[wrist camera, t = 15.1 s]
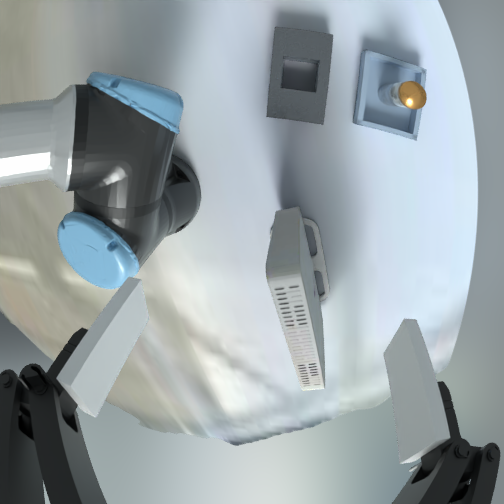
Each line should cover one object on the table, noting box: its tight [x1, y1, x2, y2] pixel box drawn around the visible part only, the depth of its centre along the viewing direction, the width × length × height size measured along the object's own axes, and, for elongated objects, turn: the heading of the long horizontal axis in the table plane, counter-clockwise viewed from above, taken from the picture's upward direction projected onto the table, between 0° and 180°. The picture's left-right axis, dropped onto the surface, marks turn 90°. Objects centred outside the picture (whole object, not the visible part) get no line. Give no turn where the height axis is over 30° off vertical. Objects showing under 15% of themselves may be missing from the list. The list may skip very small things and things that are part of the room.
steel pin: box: [378, 81, 426, 109], centre depth 29 cm, size 4×4×10 cm
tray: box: [353, 50, 426, 141], centre depth 32 cm, size 12×10×3 cm
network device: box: [266, 206, 329, 391], centre depth 43 cm, size 26×9×20 cm, turn 17°
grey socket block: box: [266, 27, 333, 125], centre depth 33 cm, size 14×8×4 cm, turn 176°
